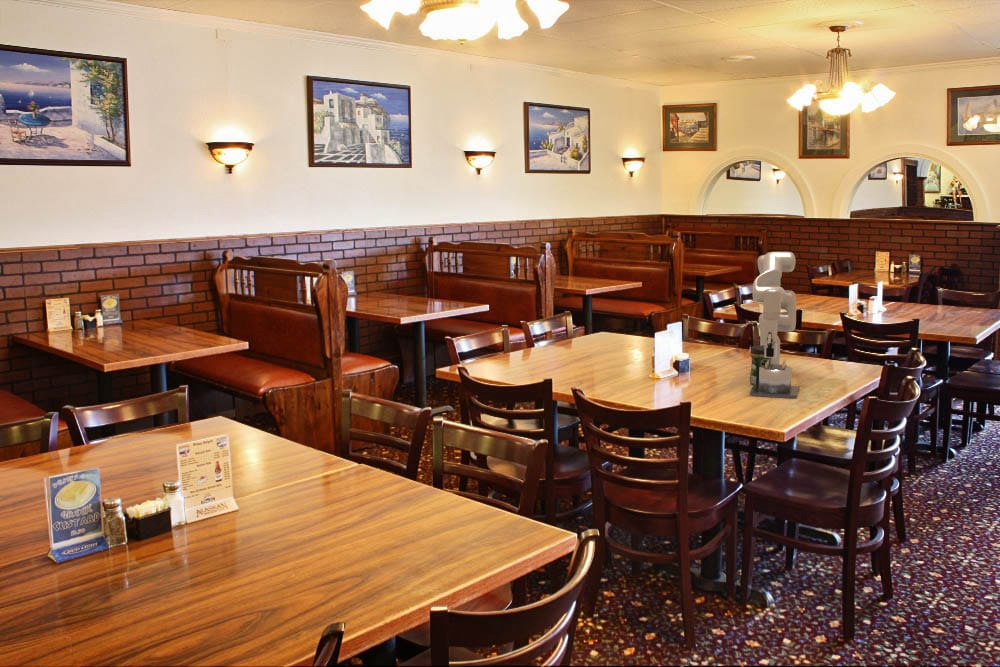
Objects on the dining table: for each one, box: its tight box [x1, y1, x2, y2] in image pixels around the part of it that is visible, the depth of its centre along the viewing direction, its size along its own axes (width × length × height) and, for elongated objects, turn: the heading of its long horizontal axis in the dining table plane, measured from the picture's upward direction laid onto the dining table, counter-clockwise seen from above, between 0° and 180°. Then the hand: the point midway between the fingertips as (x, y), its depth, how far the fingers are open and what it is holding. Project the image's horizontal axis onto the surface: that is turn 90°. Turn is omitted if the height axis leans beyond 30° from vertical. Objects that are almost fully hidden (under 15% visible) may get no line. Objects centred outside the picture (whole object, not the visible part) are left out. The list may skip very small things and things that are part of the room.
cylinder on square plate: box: [749, 360, 800, 400], centre depth 400 cm, size 20×20×14 cm
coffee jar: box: [749, 345, 771, 386], centre depth 418 cm, size 10×8×19 cm
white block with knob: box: [764, 340, 777, 358], centre depth 399 cm, size 5×5×8 cm
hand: (770, 355), depth 399 cm, fingers closed on white block with knob, 5 cm apart
